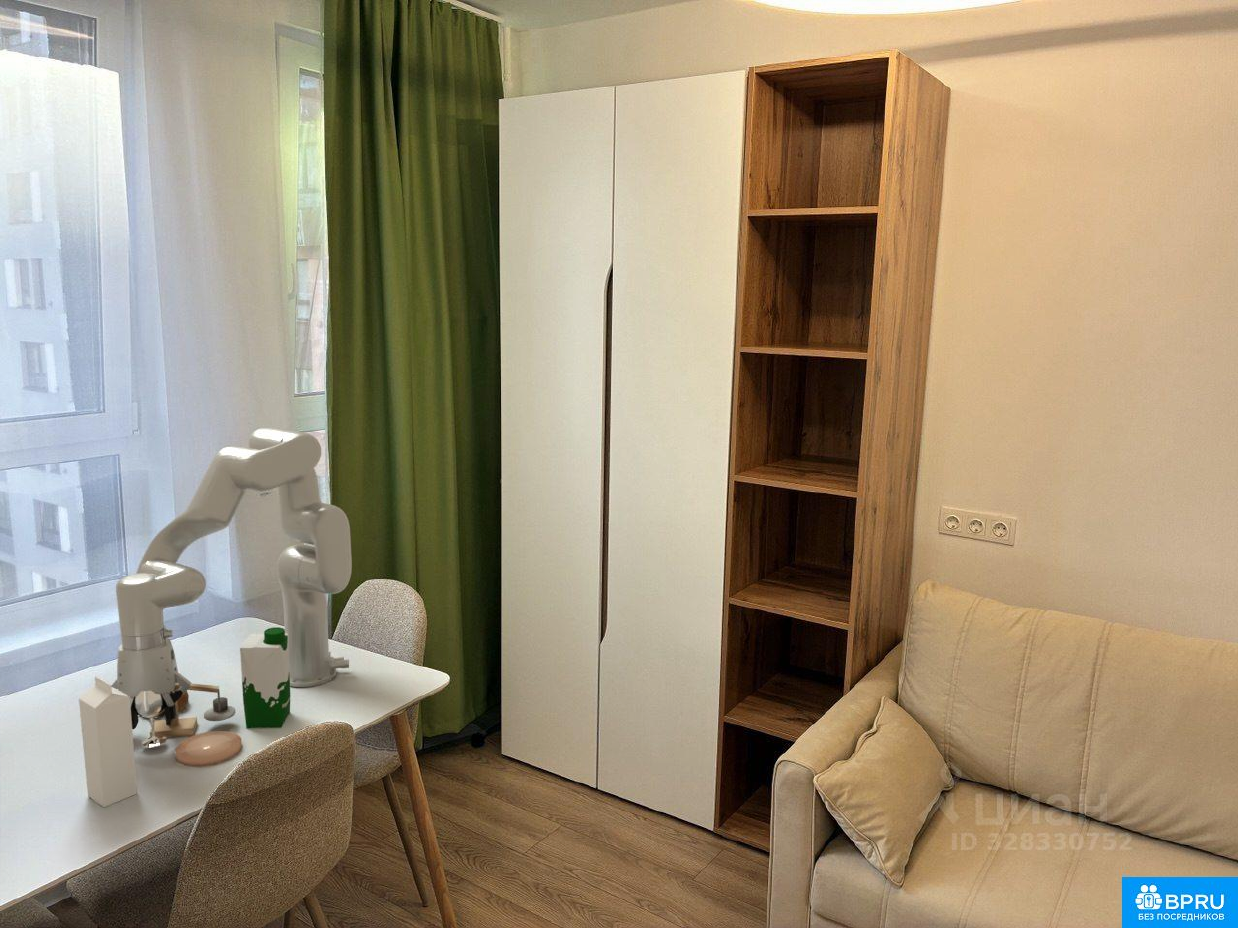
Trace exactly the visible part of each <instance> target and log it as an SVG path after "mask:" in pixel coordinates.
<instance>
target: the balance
mask: <svg viewBox="0 0 1238 928" xmlns="http://www.w3.org/2000/svg"><path fill="white" fill-rule="evenodd" d="M180 687H181V686H180V685H179V684H178V683H175V689H174V690H173V691H174V692H175V691H176V690H177V689H178V688H180ZM187 691H193V692H196V691H197V692H206V693H215V694H217V697H216V698H214V699H213V700H212V707H211V708H208V709H207V710H205V712H204V713H203V718H204V719H205V720H206V721H209V722H221V721H225V720H226V721H227V720H228V719H231V718H233V717H234V716H235V714H236V708H235V707H233V706H232V705H229V703H228V698H227V697H223V696H221V695H220V694H221V693H220V686H218V685H213V684H212V685H210V684H199V683H193V682H191V687H190V688H189V689H188V690H187ZM175 711H176V717H175V719H173V720H172V723H171V725H169V726H167V725H166V719H161V720H155V724H154V731H155V735H156V736H164V737H166V738H176V737H177V738H178V737H185V736H186V737H188V736H189V737H190V736H194V735H195V733H196V728H197V726H198V717H197V716H194V717H182V718H179V712H178V704H177V701H176V702H175ZM150 728H151V727H150ZM150 737H152V728H151V729H150V731H149V738H150Z"/></svg>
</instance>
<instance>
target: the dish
mask: <svg viewBox="0 0 1238 928" xmlns="http://www.w3.org/2000/svg"><path fill="white" fill-rule="evenodd" d="M242 748H243V741H242V737H241V736H240V735H239V734H238V733H235V732H232V731H228V730H211V731H204V732H201V733H197V734H194V735H190V736H189V737H187V738H185V739H183V740H182V741H181V742H179V743H178V744H177V746H176V747H175V750H174V752H175V753H174V755H175V760H176V761H177V762H178V763H179V764H180V765H183V766H186V767H194V768H195V767H200V768H201V767H209V766H215V765H218V764H221V763H224V762H227V761H230V760H231V759H233V758H234V757H235V756H237V755H238V754H239V753H240V752H241V751H242Z"/></svg>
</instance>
